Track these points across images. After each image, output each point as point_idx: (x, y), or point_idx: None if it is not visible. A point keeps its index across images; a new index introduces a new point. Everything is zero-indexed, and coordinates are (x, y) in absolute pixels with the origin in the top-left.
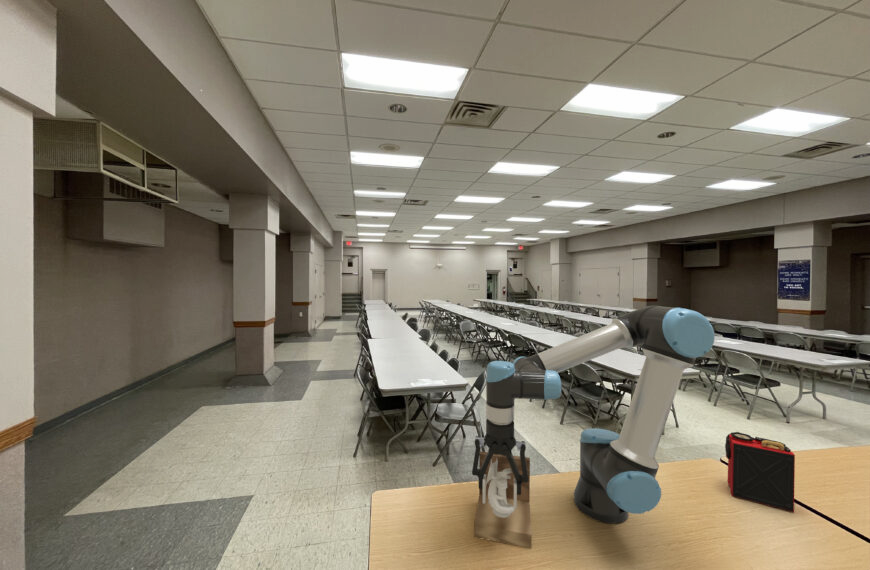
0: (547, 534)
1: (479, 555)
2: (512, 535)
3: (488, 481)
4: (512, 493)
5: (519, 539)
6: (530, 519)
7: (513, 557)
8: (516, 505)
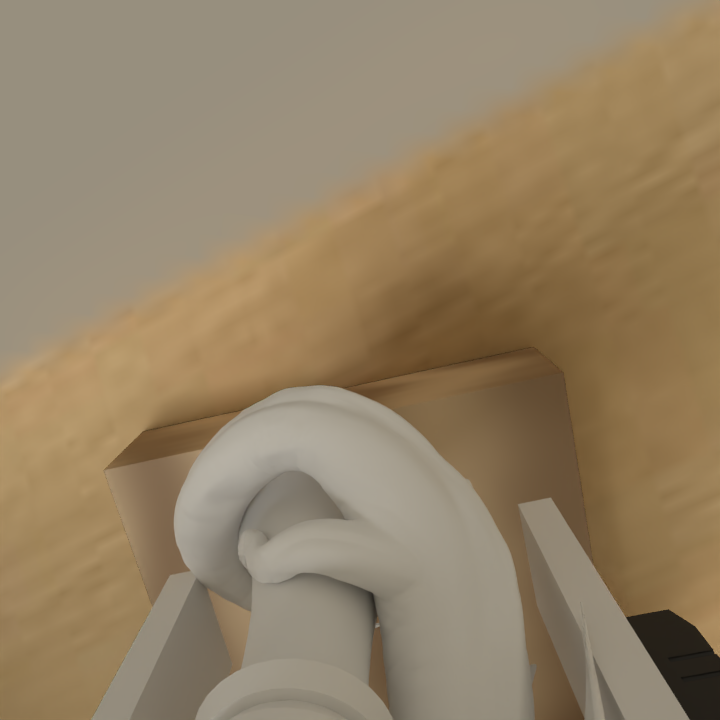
0: (84, 587)
1: (448, 206)
2: None
3: None
4: None
5: (208, 431)
6: None
7: (228, 301)
8: (160, 597)
